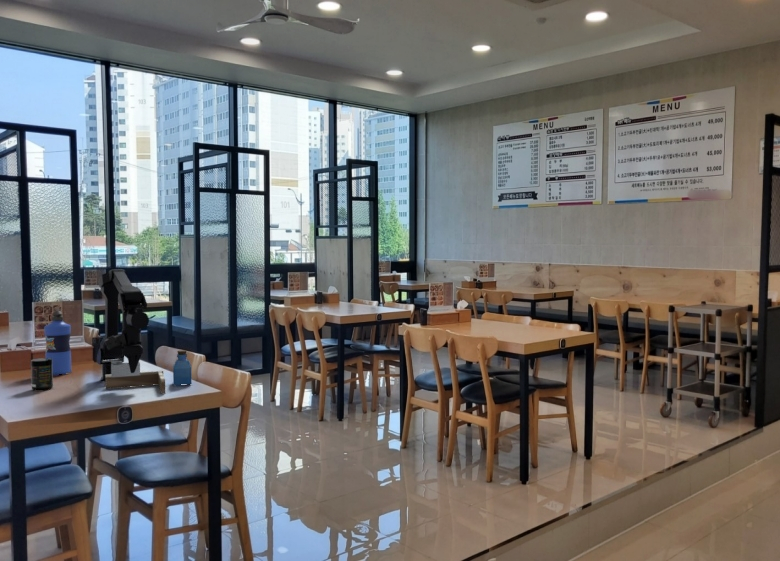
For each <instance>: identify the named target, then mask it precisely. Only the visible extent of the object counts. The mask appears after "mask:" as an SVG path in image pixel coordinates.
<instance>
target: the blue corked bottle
mask: <svg viewBox="0 0 780 561" xmlns="http://www.w3.org/2000/svg"><path fill="white" fill-rule="evenodd" d="M187 357H188V354H187V350H178V351H177V354H176V358H177V359H176V360H175V361H174V364H173V366H172V372H173V373H172V374H173V375H172V377H173V379H172V380H173V381H172V382H173V383H172V384H173V385H181V384H192V364H191V362H190V360H189V359H188V358H187Z"/></svg>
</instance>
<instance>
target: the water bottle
mask: <svg viewBox="0 0 780 561" xmlns="http://www.w3.org/2000/svg"><path fill="white" fill-rule="evenodd" d="M51 315H52V316H51V318H50V319H51V320H50V321H51V322H50V323H48V324H47V325H45V326H44V327H43V328H44V329H43V331H44V333H43V334H44V337H45V344H46V346H45V347H46V348H45V352H44V353H45V358H52V361H53V362H52V363H53V364H52V365H53V375H55V376H60V375H59V374H65V375H67V374H66V373H70V372H71V373H72V351H71V350H72V349H71V345H70V342H71V341H70V340H71V333H72V330H71V328H72V326H71V324H69V323H66V322H65V321H64V316H63V312H62V311H61V310H54V311H52V313H51ZM71 373H70V374H71Z"/></svg>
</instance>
